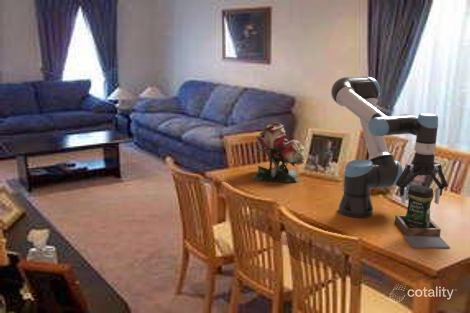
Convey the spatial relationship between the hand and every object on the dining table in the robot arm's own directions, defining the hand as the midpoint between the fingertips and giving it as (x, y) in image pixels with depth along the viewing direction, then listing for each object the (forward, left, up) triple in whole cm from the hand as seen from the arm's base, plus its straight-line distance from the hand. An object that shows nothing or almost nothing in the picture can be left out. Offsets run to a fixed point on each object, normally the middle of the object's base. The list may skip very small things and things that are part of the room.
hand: (419, 203), depth 205 cm
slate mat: (-1, -14, -11) cm, 18 cm away
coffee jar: (0, 0, -12) cm, 12 cm away
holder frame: (0, 0, -11) cm, 11 cm away
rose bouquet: (-52, +75, -12) cm, 92 cm away
